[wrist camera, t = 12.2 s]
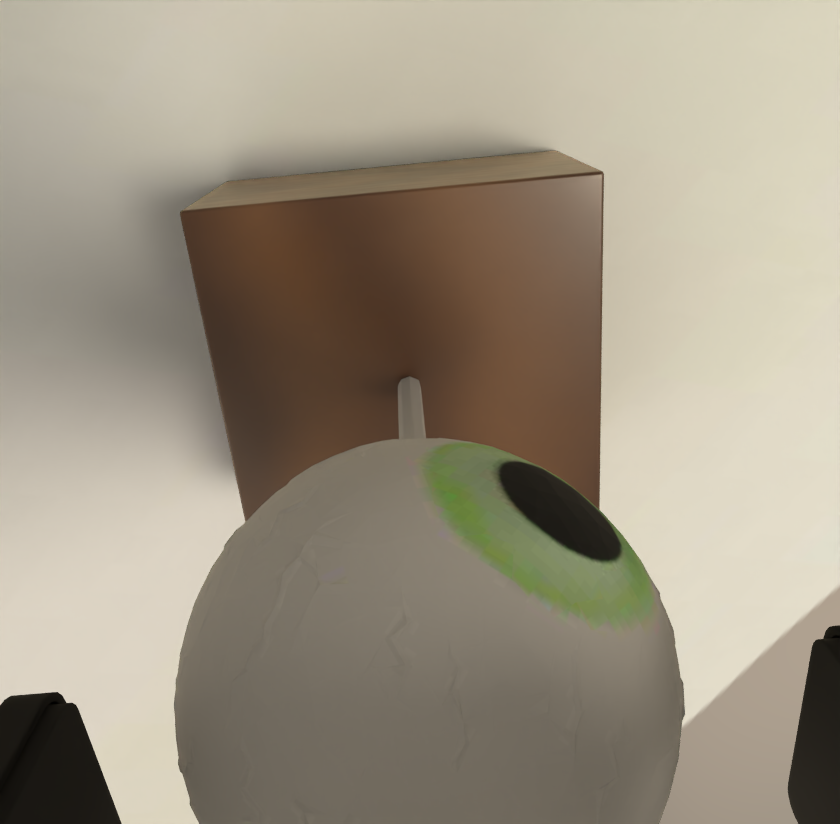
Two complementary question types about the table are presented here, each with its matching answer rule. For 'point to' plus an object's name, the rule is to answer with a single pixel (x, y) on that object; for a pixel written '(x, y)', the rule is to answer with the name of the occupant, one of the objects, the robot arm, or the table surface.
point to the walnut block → (405, 311)
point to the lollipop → (428, 650)
